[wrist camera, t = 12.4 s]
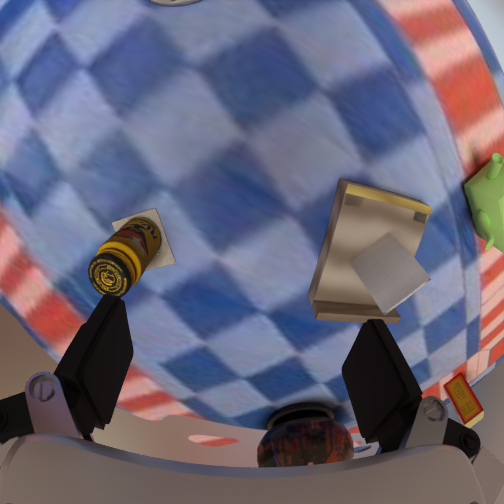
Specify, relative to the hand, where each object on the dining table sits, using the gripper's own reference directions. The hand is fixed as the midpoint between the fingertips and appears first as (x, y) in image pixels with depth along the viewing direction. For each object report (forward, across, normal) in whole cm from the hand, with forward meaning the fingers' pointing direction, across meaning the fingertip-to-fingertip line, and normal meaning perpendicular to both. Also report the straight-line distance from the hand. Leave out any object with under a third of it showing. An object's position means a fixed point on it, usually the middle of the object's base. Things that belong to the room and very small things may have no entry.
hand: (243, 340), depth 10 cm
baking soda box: (+25, -68, +45) cm, 85 cm away
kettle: (+27, -40, -6) cm, 49 cm away
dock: (+27, -19, +7) cm, 33 cm away
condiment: (+27, +13, +10) cm, 32 cm away
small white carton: (+24, -19, +6) cm, 31 cm away
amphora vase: (+26, -20, +52) cm, 61 cm away
